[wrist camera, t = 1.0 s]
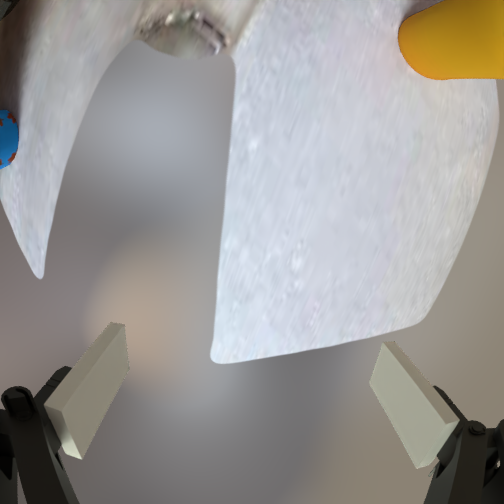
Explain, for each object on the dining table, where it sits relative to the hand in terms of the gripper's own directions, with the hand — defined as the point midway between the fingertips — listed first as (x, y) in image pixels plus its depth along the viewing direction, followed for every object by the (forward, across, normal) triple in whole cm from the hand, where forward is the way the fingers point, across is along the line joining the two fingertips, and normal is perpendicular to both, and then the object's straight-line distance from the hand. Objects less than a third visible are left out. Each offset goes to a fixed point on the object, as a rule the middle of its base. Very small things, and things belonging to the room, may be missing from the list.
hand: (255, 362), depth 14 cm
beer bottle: (+18, +20, +30) cm, 40 cm away
